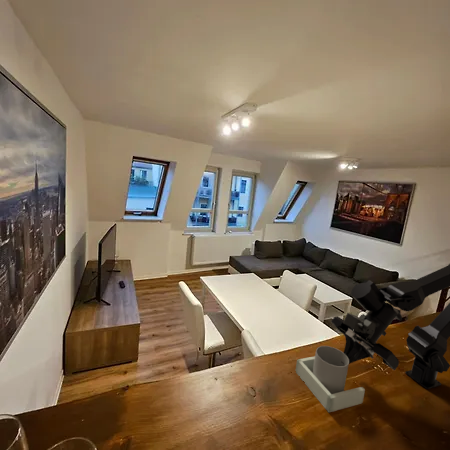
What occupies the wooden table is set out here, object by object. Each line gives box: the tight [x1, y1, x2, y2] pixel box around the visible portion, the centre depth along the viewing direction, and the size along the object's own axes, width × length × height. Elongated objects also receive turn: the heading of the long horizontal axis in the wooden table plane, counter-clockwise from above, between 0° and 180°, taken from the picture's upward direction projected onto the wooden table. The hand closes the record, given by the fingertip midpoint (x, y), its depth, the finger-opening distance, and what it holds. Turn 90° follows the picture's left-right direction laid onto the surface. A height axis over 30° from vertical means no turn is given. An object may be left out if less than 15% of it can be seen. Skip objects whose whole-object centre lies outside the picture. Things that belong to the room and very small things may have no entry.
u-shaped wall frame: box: [295, 355, 366, 413], centre depth 69 cm, size 11×14×4 cm
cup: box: [311, 345, 350, 394], centre depth 68 cm, size 8×8×10 cm
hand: (342, 363), depth 69 cm, fingers closed, pressing on cup
